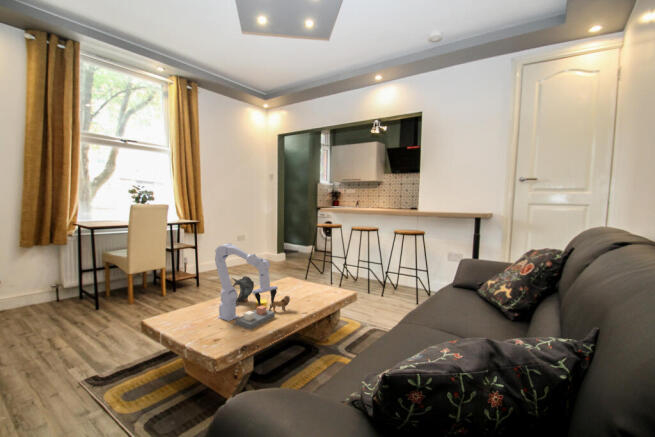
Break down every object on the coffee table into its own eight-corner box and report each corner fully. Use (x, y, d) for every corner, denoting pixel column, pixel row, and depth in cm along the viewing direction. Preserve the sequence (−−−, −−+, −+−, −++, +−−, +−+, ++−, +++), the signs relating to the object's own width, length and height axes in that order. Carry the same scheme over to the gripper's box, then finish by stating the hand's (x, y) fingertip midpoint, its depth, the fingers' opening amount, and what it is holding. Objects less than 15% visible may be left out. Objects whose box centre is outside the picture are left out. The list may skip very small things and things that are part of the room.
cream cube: (244, 319, 172) (244, 313, 171) (249, 317, 175) (249, 310, 175) (249, 321, 170) (249, 314, 169) (254, 319, 173) (254, 312, 173)
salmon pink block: (256, 314, 180) (256, 307, 180) (261, 311, 184) (261, 305, 183) (261, 315, 178) (261, 308, 178) (266, 313, 182) (266, 306, 181)
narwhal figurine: (255, 304, 202) (255, 278, 200) (231, 307, 196) (231, 280, 194) (252, 297, 215) (252, 273, 213) (229, 300, 209) (229, 274, 208)
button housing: (235, 324, 171) (234, 319, 171) (259, 312, 188) (259, 308, 188) (250, 329, 165) (250, 324, 165) (274, 317, 182) (274, 312, 182)
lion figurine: (288, 307, 198) (288, 294, 198) (291, 310, 194) (291, 296, 193) (266, 311, 191) (266, 297, 190) (269, 314, 186) (269, 300, 186)
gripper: (254, 284, 167) (255, 308, 168) (278, 280, 174) (280, 303, 175) (250, 282, 173) (252, 305, 174) (274, 277, 180) (276, 300, 181)
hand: (266, 304), depth 175 cm, fingers open, 7 cm apart
